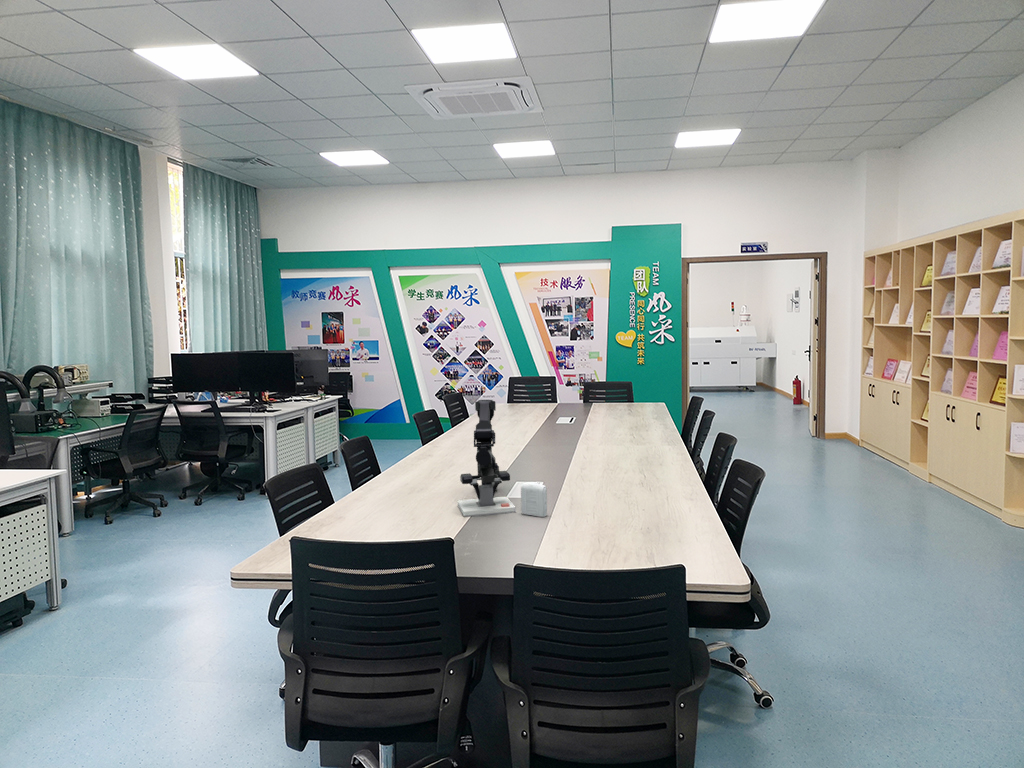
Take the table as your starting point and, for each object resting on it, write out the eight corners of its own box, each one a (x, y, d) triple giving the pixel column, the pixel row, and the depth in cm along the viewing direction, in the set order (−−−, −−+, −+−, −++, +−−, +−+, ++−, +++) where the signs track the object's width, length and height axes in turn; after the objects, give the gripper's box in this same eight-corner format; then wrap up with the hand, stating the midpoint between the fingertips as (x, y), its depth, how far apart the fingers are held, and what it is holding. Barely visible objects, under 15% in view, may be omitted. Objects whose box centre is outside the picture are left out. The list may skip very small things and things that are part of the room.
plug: (478, 502, 262) (477, 485, 262) (491, 501, 263) (490, 484, 263) (480, 506, 258) (480, 488, 257) (493, 505, 259) (492, 487, 258)
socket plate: (457, 505, 266) (457, 498, 266) (506, 501, 271) (506, 494, 270) (463, 516, 251) (463, 509, 250) (515, 512, 255) (515, 505, 255)
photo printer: (549, 514, 251) (548, 482, 250) (543, 518, 247) (543, 485, 246) (524, 511, 256) (524, 479, 255) (519, 514, 252) (518, 482, 251)
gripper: (463, 465, 249) (465, 506, 250) (512, 462, 253) (513, 502, 255) (459, 459, 260) (460, 498, 261) (506, 456, 264) (507, 495, 265)
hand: (485, 498), depth 260 cm, fingers closed on plug, 5 cm apart
